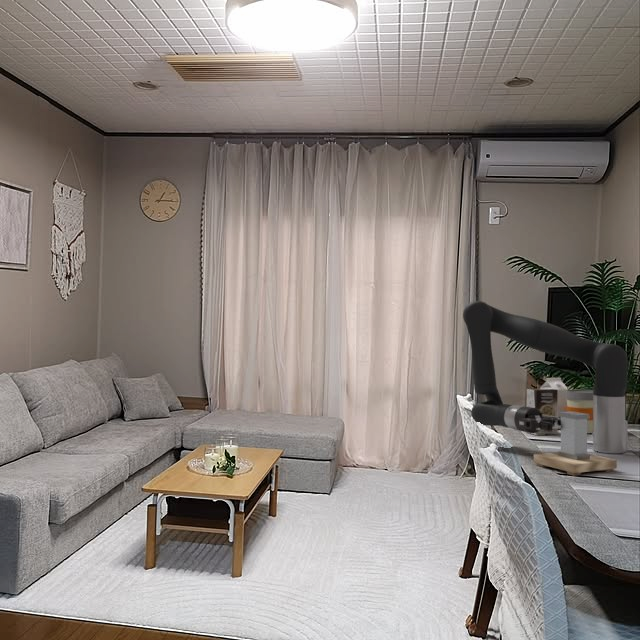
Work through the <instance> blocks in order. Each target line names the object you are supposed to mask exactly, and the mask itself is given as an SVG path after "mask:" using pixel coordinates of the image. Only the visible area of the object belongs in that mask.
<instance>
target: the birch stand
mask: <svg viewBox="0 0 640 640" xmlns="http://www.w3.org/2000/svg"><path fill="white" fill-rule="evenodd" d="M589 454H590V459H583V460H574V459H570V458H566V457H562V456H558V451H556V452H546V453H535V454H533V463H535V465H536V466H537V467H541V468H547V467H550V468H553V469H558V470H560V471H565V472H567V473H566V474H567V475H570V476H573V477H574V476H581V475H582V473H585V472H586V473H587V472H596V471H597V472H598V471H602V472H605V473H606V472H607V473H609V472H610V473H611V472H614V471H615V469H617V466H618V465H617V462H618V461H617V459H613V458H609V457H605V456H600V455H595V454H591V453H589Z"/></svg>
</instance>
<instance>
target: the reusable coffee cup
mask: <svg viewBox="0 0 640 640" xmlns="http://www.w3.org/2000/svg"><path fill="white" fill-rule="evenodd" d="M566 398H567V406H566V407H567V411H572V412H578V413H585V414H590V419H587V433H593V389H575V388H574V389H568V390H566Z"/></svg>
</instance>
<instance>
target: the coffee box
mask: <svg viewBox="0 0 640 640" xmlns="http://www.w3.org/2000/svg"><path fill="white" fill-rule="evenodd" d="M557 402H558V390H556V389H540V388H526V407H532V408H537V409H538V410H540V412H541V413H542V415H548V416H557ZM551 419H553V418H551ZM552 426H555V425H553V424H552ZM526 434H529V433H528V432H527V433H526ZM533 434H534V436H546V435H545V434H555V435H558V429H553V428H552V431H547V430H542V429H541V430H539V431H538V432H536V433H531V435H533Z"/></svg>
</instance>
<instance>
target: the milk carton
mask: <svg viewBox="0 0 640 640" xmlns="http://www.w3.org/2000/svg"><path fill="white" fill-rule="evenodd" d="M539 389H556V390H558V402H557V416H558V412H567V407H566V406H567V398H566V390H569V389H568V387H567V386H566V384H565V383H564V382H563V381H562V377H547V378H546V381H545V382H544V383H543V384H542V385H541V386H540V387H539ZM557 430H561V427H558V428H557Z"/></svg>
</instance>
